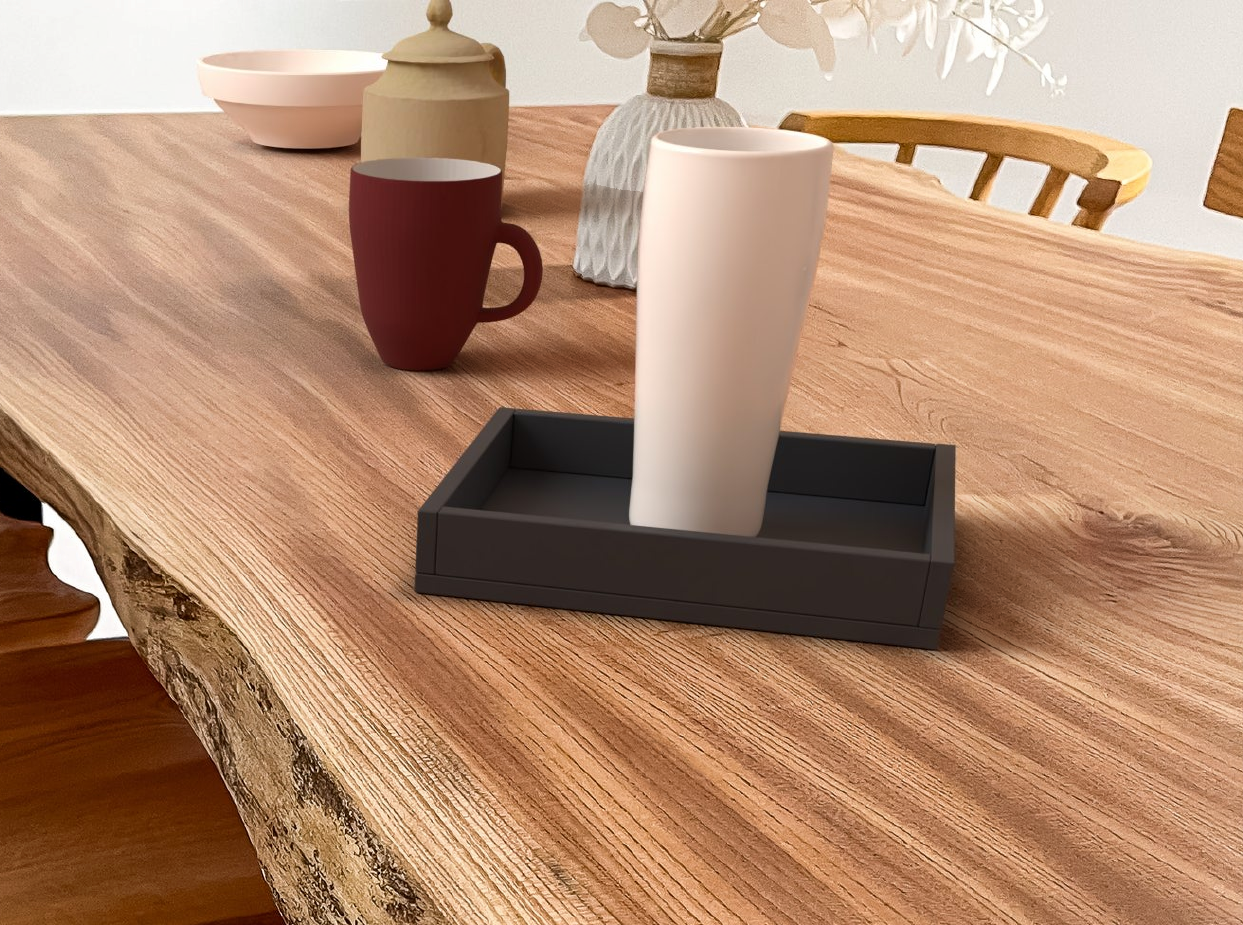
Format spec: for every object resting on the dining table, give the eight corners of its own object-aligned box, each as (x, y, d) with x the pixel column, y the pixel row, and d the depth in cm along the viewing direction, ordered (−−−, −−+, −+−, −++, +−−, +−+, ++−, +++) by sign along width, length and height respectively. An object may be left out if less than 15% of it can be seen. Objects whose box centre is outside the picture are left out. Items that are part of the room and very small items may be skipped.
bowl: (343, 170, 162) (345, 78, 159) (156, 150, 171) (153, 63, 167) (449, 142, 176) (453, 57, 173) (271, 125, 185) (271, 44, 182)
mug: (540, 350, 108) (554, 161, 102) (530, 386, 101) (545, 185, 96) (356, 342, 109) (361, 155, 104) (334, 376, 102) (339, 178, 97)
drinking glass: (744, 574, 74) (802, 158, 66) (582, 543, 77) (620, 142, 69) (800, 527, 78) (860, 134, 71) (646, 500, 81) (688, 121, 74)
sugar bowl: (365, 187, 155) (370, -20, 147) (500, 189, 154) (513, -19, 146) (356, 220, 142) (361, -5, 134) (504, 223, 141) (518, -3, 134)
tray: (941, 521, 82) (955, 444, 80) (937, 650, 69) (954, 563, 67) (494, 479, 87) (499, 406, 85) (413, 592, 74) (417, 509, 72)
